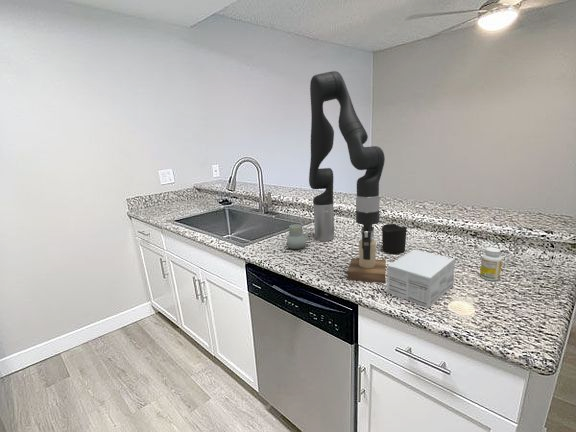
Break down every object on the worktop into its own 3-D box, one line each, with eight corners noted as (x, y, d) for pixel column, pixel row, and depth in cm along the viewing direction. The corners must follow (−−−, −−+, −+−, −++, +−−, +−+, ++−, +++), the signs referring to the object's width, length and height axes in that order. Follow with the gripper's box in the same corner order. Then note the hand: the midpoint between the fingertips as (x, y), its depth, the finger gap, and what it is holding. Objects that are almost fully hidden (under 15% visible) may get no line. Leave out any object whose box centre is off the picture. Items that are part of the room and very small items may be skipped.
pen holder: (402, 246, 129) (403, 223, 127) (408, 254, 120) (409, 230, 118) (379, 246, 130) (380, 224, 128) (384, 254, 121) (384, 231, 119)
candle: (364, 269, 102) (364, 241, 100) (356, 263, 107) (356, 236, 105) (378, 267, 104) (378, 239, 101) (370, 261, 109) (370, 234, 106)
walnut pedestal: (351, 265, 113) (351, 257, 113) (385, 267, 110) (385, 259, 109) (347, 279, 102) (347, 271, 102) (385, 282, 99) (385, 274, 98)
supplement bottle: (487, 281, 95) (491, 253, 93) (476, 274, 100) (478, 247, 98) (504, 280, 96) (507, 251, 93) (491, 273, 101) (494, 245, 98)
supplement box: (412, 274, 104) (413, 248, 101) (453, 286, 94) (455, 258, 92) (385, 292, 93) (386, 264, 91) (429, 308, 83) (430, 277, 81)
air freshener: (306, 251, 131) (305, 228, 128) (287, 252, 131) (286, 229, 128) (305, 242, 141) (304, 221, 139) (287, 243, 142) (286, 222, 139)
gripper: (357, 203, 108) (358, 246, 112) (353, 213, 95) (354, 262, 99) (380, 203, 106) (379, 247, 110) (378, 214, 93) (378, 263, 97)
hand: (367, 254), depth 104 cm, fingers open, 8 cm apart
